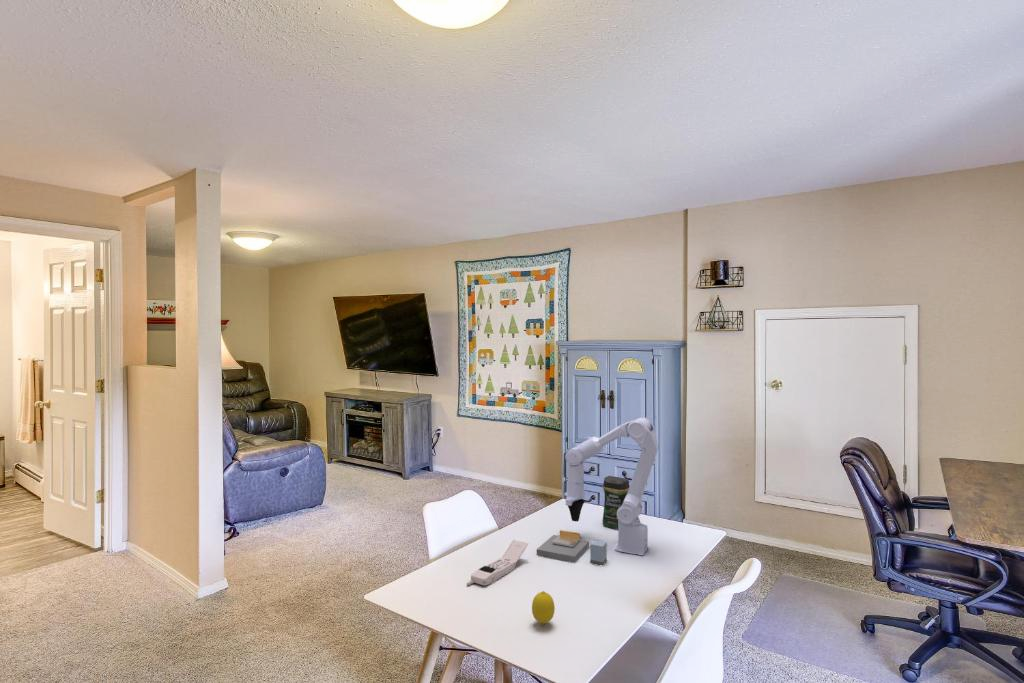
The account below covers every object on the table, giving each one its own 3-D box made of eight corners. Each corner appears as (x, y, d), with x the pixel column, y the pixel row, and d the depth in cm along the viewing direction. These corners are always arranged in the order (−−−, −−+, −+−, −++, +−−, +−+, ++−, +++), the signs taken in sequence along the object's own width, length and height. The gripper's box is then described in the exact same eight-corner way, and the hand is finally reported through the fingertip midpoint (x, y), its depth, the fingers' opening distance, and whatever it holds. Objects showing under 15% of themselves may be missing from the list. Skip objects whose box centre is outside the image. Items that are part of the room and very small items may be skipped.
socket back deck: (581, 555, 173) (581, 548, 173) (574, 562, 166) (574, 556, 166) (545, 548, 178) (545, 542, 178) (536, 555, 172) (536, 549, 172)
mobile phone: (529, 542, 168) (481, 570, 147) (529, 561, 168) (481, 591, 147) (513, 539, 171) (464, 565, 151) (514, 557, 171) (464, 586, 151)
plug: (606, 561, 168) (606, 542, 168) (602, 566, 164) (602, 546, 164) (594, 558, 170) (594, 540, 170) (590, 563, 166) (590, 544, 166)
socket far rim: (561, 543, 182) (561, 538, 182) (554, 549, 177) (554, 543, 177) (551, 542, 184) (551, 536, 184) (545, 548, 178) (545, 542, 178)
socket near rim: (587, 548, 178) (587, 542, 178) (581, 555, 173) (581, 548, 173) (577, 546, 180) (577, 540, 180) (571, 553, 174) (571, 547, 174)
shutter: (580, 539, 180) (580, 533, 180) (573, 547, 173) (573, 540, 173) (560, 536, 183) (560, 529, 183) (551, 543, 177) (551, 537, 177)
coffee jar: (599, 526, 200) (599, 477, 200) (608, 520, 206) (608, 473, 206) (623, 531, 194) (624, 481, 194) (632, 525, 201) (632, 476, 201)
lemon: (553, 618, 133) (553, 586, 133) (555, 630, 127) (555, 596, 127) (531, 618, 133) (531, 586, 133) (532, 630, 127) (532, 597, 127)
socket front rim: (589, 547, 179) (589, 541, 179) (587, 548, 178) (587, 542, 178) (553, 540, 185) (553, 534, 185) (551, 542, 184) (551, 536, 184)
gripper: (571, 476, 195) (571, 513, 195) (557, 485, 182) (557, 525, 182) (590, 478, 191) (590, 516, 191) (576, 488, 178) (576, 528, 178)
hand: (575, 520), depth 186 cm, fingers closed
